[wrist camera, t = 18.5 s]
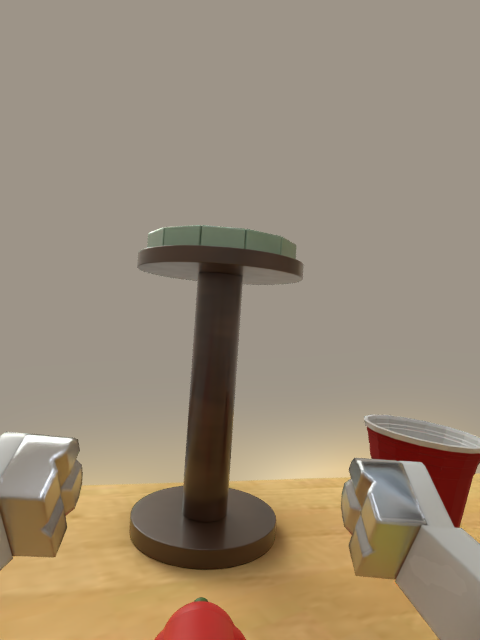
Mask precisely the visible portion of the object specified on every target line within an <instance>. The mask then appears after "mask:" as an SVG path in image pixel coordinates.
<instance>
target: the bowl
mask: <svg viewBox="0 0 480 640" xmlns="http://www.w3.org/2000/svg"><path fill="white" fill-rule="evenodd" d="M167 245H205V246H222V247H233V248H242V249H251V250H258V251H264V252H270V253H275V254H280V255H283V256H287V257H291V258H294V259H295V258H296V245H295V244H294V243H292V242H290V241H289V240H287V239H285V238H283V237H281V236H277V235H272V234H268V233H263V232H259V231H254V230H250V229H246V230H245V229H242V228H229V227H217V226H205V225H203V226H199V225H197V226H178V227H165V228H161V229H158V230H156V231H153V232H151V233H149V234H148V246H147V248H149V247H156V246H167Z"/></svg>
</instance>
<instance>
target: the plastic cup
mask: <svg viewBox="0 0 480 640" xmlns="http://www.w3.org/2000/svg"><path fill="white" fill-rule="evenodd" d="M364 421H365V426H367V430H368V436H369V443H370V454H371V458H372V459H382V460H396V461H412V462H421V463H423V464H424V465H425V467H426V469H427V471H428V473H429V475H430V477H431V479H432V481H433V483H434V486H435V488H436V490H437V492H438V494H439V496H440V498H441V500H442V502H443V504H444V506H445V508H446V511H447V513H448V515H449V517H450V519H451V521H452V523H453V525H454V527H456V528H459V527H460V523H461V519H462V516H463V512H464V508H465V504H466V501H467V497H468V493H469V490H470V486H471V482H472V478H473V476H474V474H475V472H476V469H477V466H478V464H479V463H480V438H479V437H477V436H474V435H472V434H470V433H467V432H463V431H460V430H457V429H453V428H450V427H447V426H443V425H439V424H435V423H430V422H426V421H420V420H415V419H410V418H405V417H397V416H389V415H368V416H364Z"/></svg>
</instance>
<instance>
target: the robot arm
mask: <svg viewBox="0 0 480 640" xmlns="http://www.w3.org/2000/svg"><path fill="white" fill-rule="evenodd" d="M79 451H80V449H79V443H78V439H76V438H69V437H59V436H49V435H39V434H25V433H14V432H5V433H4V434H3V435H1V436H0V570H1V569H2V568H3V567H4V566H5V565H7V564H8V563H9V562H10V561H11V560H12V559H13V557H12V556H31V557H56V554H57V552H58V549H59V547H60V544H61V542H62V539H63V537H64V534H65V532H66V529H67V523H66V517H65V516H66V515H67V514H68V513H70V512H71V511H72V510H73V509H75V506H76V503H77V501H78V498H79V494H80V490H81V485H82V473H83V472H82V465H81V464H80V463H79V462H78V461H77V460H76V458H77V456H78V453H79ZM349 472H350V476H351V479H350V480H348V481H347V482H345V483H344V487H343V491H342V499H341V510H342V518H343V522H344V527H345V528H346V529H347V530H348V531H349V532H350V533H351V534H352V537H351V540H350V543H349V549H350V553H351V558H352V562H353V566H354V571H355V575H356V576H363V577H374V578H385V579H396V580H395V582H396V584H397V585H398V586H399V587H400V589H401V590H402V591H403V593H404V594H405V595H406V597H407V598H408V599H409V600H410V602H411V603H412V604H413V606H414V607H415V608H416V610H417V611H418V612H419V613H420V615H421V616H422V617H423V619H424V620H425V621H426V623H427V624H428V625H429V626H430V628H431V629H432V630H433V632H434V633H435V634H436V636H437V637H438V638H439V639H440V640H480V544H479V543H478V542H477V541H476V540H475V539H474V538H472V537H471V536H470V535H469V534H468V533H467V532H465V531H464V530H463V529H462V528H456V527H454V525H453V523H452V521H451V519H450V517H449V515H448V513H447V511H446V508H445V506H444V504H443V502H442V500H441V498H440V496H439V494H438V492H437V490H436V488H435V486H434V483H433V481H432V479H431V477H430V475H429V473H428V471H427V469H426V467H425V465H424V464H423V463H421V462H412V461H396V460H382V459H365V458H354V459H353V460H352V462H351V464H350V467H349Z"/></svg>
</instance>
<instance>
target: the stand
mask: <svg viewBox="0 0 480 640" xmlns="http://www.w3.org/2000/svg"><path fill="white" fill-rule="evenodd" d="M137 267H138V268H139V269H140V270H142V271H144V272H148V273H151V274H155V275H160V276H165V277H171V278H178V279H186V280H193V281H198V284H197V298H196V313H195V328H194V343H193V356H192V357H193V358H192V371H191V386H190V399H189V414H188V429H187V443H186V457H185V473H184V486H178V487H172V488H167V489H163V490H159V491H156V492H154V493H151V494H149V495H147V496H145V497H143V498H142V499H141V500H139V501H138V502H137V503H136V504H135V505H134V507H133V508H132V511H131V517H130V537H131V540H132V542H133V543H134V545H135V546H136V547H137V548H138V549H139V550H140V551H142V552H143V553H144V554H146V555H148V556H149V557H151V558H153V559H156V560H158V561H161V562H164V563H167V564H170V565H174V566H179V567H185V568H195V569H218V568H227V567H233V566H237V565H241V564H244V563H247V562H250V561H252V560H255V559H257V558H259V557H260V556H262V555H263V554H265V553H266V552H267V551H268V550H269V549H270V547H271V546H272V545H273V542H274V540H275V529H276V516H275V514H274V511H273V510H272V509H271V507H270V506H269V505H268V504H266V503H265V502H264V501H262V500H261V499H259V498H257V497H255V496H253V495H251V494H248V493H245V492H242V491H239V490H235V489H231V488H229V474H230V459H231V443H232V430H233V415H234V400H235V385H236V371H237V356H238V341H239V326H240V312H241V297H242V284H252V285H274V284H289V283H296V282H299V281H301V280H302V279H303V263H302V262H300V261H298V260H296V259H294V258H291V257H287V256H283V255H280V254H275V253H270V252H264V251H258V250H251V249H242V248H233V247H222V246H205V245H167V246H156V247H149V248H145V249H142V250H140V251H139V253H138V265H137Z"/></svg>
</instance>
